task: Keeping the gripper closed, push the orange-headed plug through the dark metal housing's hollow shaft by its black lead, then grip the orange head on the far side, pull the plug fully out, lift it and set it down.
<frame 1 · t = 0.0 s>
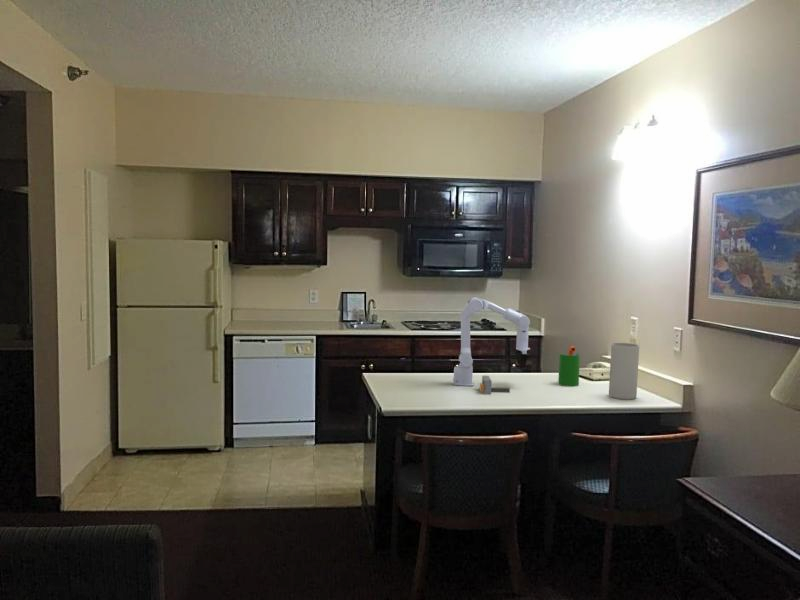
hand: (521, 365, 330), 10 cm above the worktop, fingers open, 7 cm apart
green upright cylinder: (569, 384, 336), on the worktop
plug: (484, 391, 316), on the worktop
housing: (486, 391, 316), on the worktop
cylinder vase: (622, 397, 311), on the worktop
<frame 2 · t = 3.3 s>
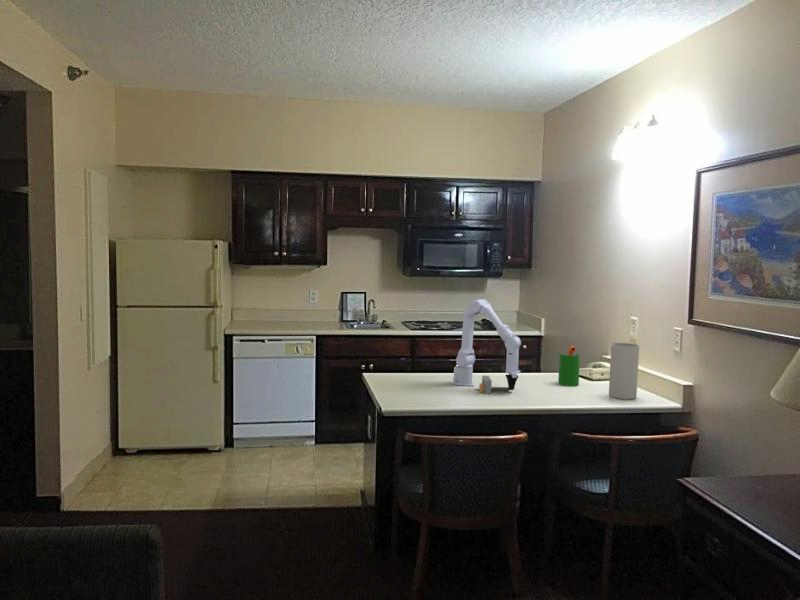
hand: (511, 389, 316), 1 cm above the worktop, fingers closed, pressing on plug
plug: (483, 391, 316), on the worktop, touching gripper
everything else where it was.
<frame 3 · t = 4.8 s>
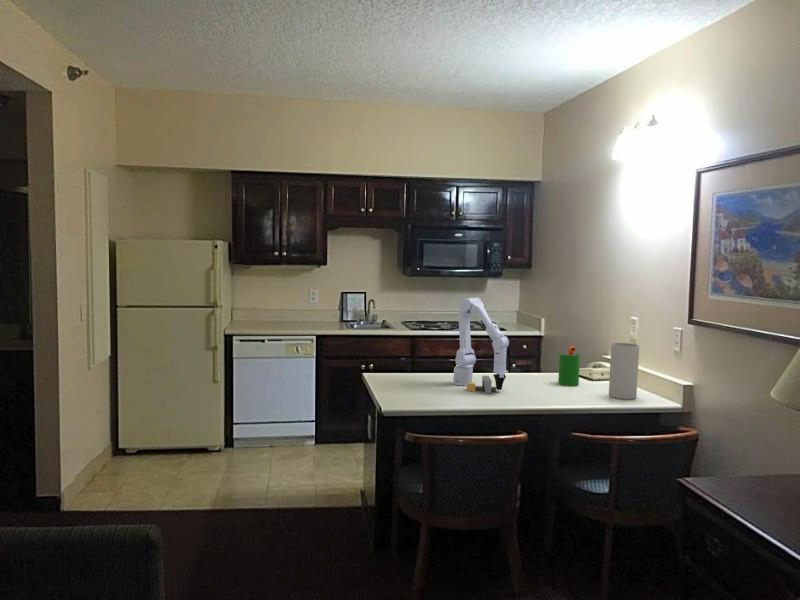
hand: (498, 389, 316), 1 cm above the worktop, fingers closed
plug: (471, 390, 318), on the worktop, touching gripper
everything else where it was.
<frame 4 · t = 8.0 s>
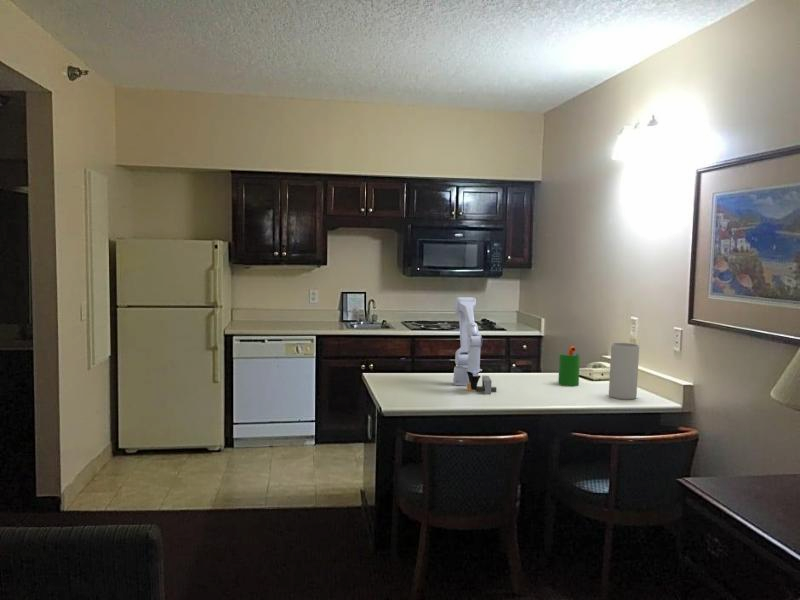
hand: (473, 388, 316), 1 cm above the worktop, fingers open, 6 cm apart
nothing on the worktop moved.
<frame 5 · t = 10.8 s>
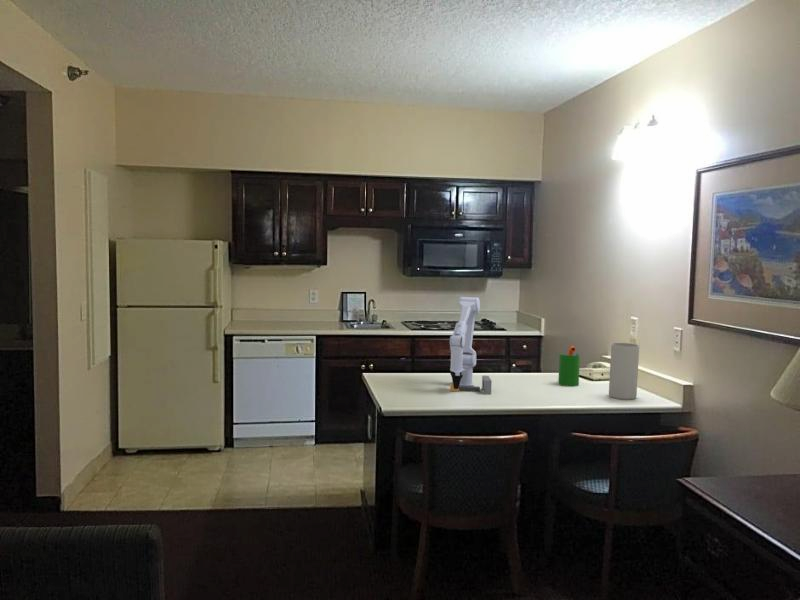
hand: (455, 387, 316), 1 cm above the worktop, fingers closed on plug, 4 cm apart
plug: (454, 390, 316), on the worktop, touching gripper
everything else where it was.
when the fingers open (3 cm above the worktop, at t = 13.3 s): plug drops 2 cm, on the worktop.
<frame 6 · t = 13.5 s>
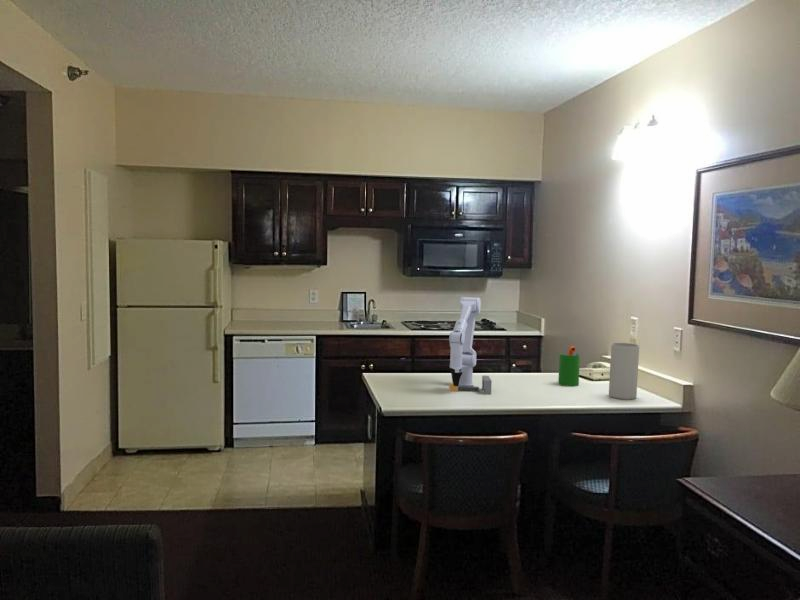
hand: (455, 384, 316), 3 cm above the worktop, fingers open, 5 cm apart
plug: (453, 390, 316), on the worktop
everything else where it was.
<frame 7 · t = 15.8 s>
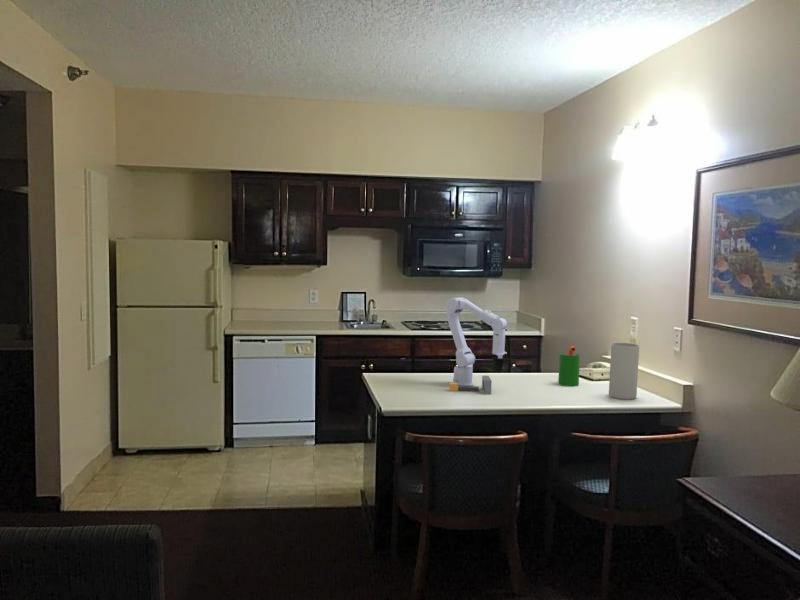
hand: (497, 370, 320), 9 cm above the worktop, fingers open, 7 cm apart
nothing on the worktop moved.
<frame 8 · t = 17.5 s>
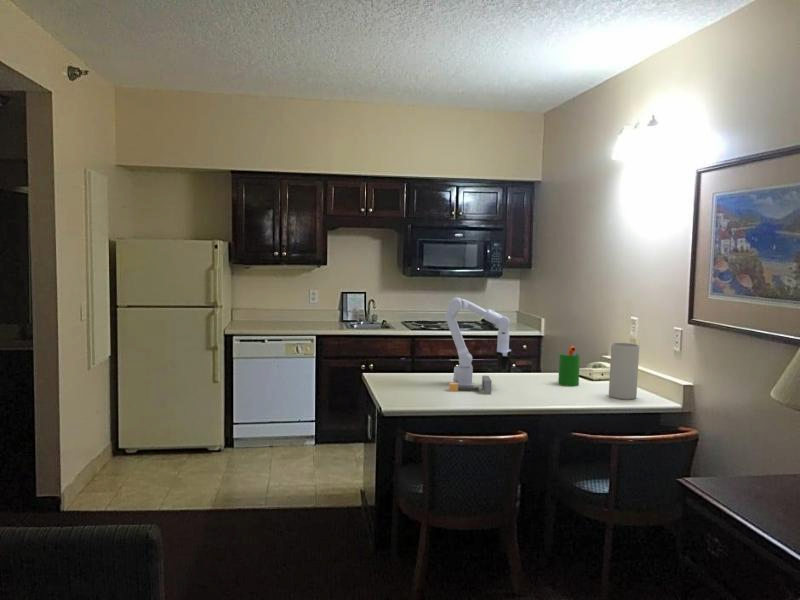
hand: (502, 367, 327), 9 cm above the worktop, fingers open, 7 cm apart
nothing on the worktop moved.
at the end: plug inside the target area (1.5 cm from its centre), on the worktop; plug touching worktop; the gripper is holding nothing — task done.
